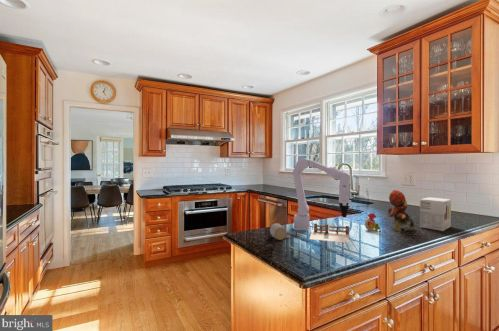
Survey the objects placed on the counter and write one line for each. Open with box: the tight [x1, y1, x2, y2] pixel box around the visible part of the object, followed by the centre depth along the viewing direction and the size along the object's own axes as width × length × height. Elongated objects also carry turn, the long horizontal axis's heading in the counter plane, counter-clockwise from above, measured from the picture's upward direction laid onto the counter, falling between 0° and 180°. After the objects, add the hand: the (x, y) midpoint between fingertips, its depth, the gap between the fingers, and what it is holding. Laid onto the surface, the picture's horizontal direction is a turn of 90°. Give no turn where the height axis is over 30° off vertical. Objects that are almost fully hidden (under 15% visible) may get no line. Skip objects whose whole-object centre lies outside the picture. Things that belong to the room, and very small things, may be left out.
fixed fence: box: [313, 223, 329, 233], centre depth 157 cm, size 8×2×5 cm, turn 72°
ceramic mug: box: [269, 223, 292, 241], centre depth 147 cm, size 11×8×8 cm
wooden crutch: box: [328, 225, 350, 235], centre depth 154 cm, size 11×2×4 cm, turn 72°
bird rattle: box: [364, 212, 382, 232], centre depth 163 cm, size 6×11×9 cm
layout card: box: [309, 228, 350, 243], centre depth 151 cm, size 20×22×1 cm
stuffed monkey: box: [387, 189, 421, 233], centre depth 167 cm, size 15×17×25 cm
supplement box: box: [419, 196, 452, 232], centre depth 172 cm, size 17×13×18 cm
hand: (343, 215), depth 159 cm, fingers open, 7 cm apart
